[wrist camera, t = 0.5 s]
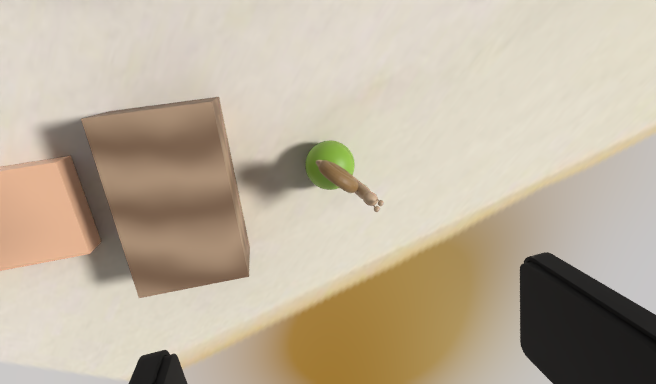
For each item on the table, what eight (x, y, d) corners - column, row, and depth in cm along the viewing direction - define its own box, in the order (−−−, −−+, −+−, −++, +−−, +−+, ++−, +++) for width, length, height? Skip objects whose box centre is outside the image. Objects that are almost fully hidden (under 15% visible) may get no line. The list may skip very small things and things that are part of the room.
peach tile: (-76, 177, 38) (-107, 187, 35) (72, 154, 40) (55, 162, 37) (-32, 264, 41) (-58, 281, 38) (102, 240, 43) (90, 253, 40)
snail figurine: (338, 193, 46) (365, 232, 35) (294, 168, 44) (307, 200, 33) (363, 156, 45) (399, 183, 34) (318, 128, 43) (340, 147, 32)
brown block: (110, 111, 39) (81, 118, 32) (218, 96, 40) (211, 101, 34) (156, 265, 45) (139, 298, 38) (249, 247, 46) (248, 276, 40)
